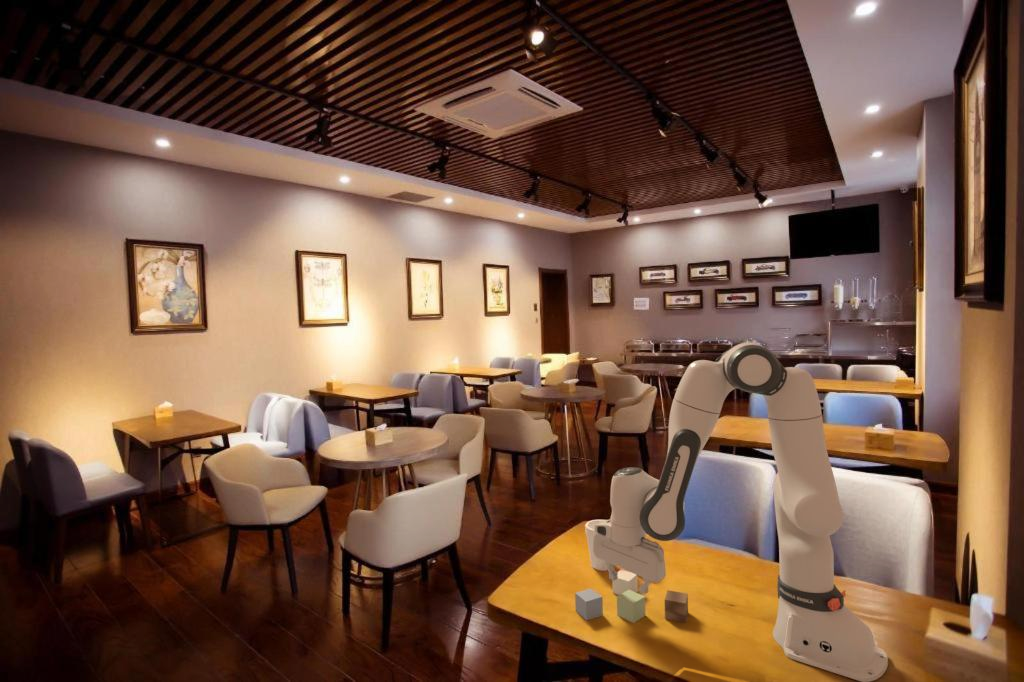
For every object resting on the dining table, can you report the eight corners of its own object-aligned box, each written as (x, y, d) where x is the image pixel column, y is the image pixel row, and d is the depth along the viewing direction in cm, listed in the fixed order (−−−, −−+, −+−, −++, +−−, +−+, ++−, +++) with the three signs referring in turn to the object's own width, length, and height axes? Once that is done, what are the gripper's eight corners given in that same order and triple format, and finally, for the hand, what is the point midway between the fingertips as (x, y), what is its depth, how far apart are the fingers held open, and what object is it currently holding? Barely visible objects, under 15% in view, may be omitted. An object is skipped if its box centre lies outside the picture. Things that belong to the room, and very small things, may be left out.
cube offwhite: (637, 592, 149) (637, 574, 149) (629, 599, 145) (628, 581, 145) (621, 586, 152) (620, 569, 152) (612, 594, 149) (612, 576, 148)
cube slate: (602, 615, 138) (602, 596, 138) (586, 621, 136) (585, 601, 136) (591, 606, 142) (591, 588, 142) (575, 611, 140) (575, 592, 140)
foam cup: (594, 576, 159) (592, 533, 158) (581, 563, 168) (580, 522, 167) (623, 571, 161) (622, 528, 161) (609, 558, 170) (608, 518, 170)
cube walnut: (688, 612, 138) (687, 593, 138) (685, 623, 133) (685, 603, 133) (667, 609, 140) (667, 590, 140) (665, 619, 136) (664, 599, 135)
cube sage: (645, 615, 137) (645, 596, 137) (633, 623, 134) (633, 603, 134) (629, 608, 141) (628, 589, 141) (617, 615, 138) (616, 596, 138)
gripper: (671, 541, 131) (670, 597, 132) (604, 518, 146) (604, 568, 147) (655, 548, 127) (655, 606, 128) (589, 524, 142) (589, 575, 143)
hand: (628, 585), depth 137 cm, fingers open, 8 cm apart
